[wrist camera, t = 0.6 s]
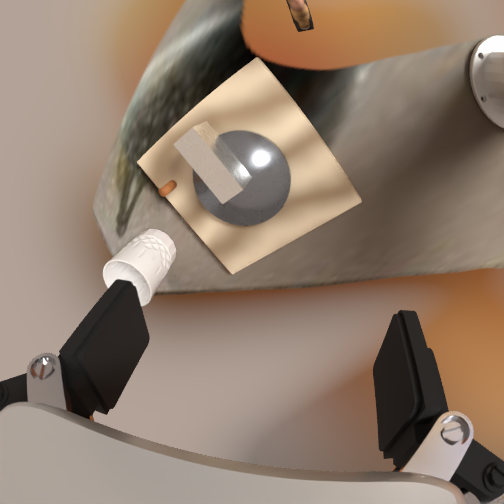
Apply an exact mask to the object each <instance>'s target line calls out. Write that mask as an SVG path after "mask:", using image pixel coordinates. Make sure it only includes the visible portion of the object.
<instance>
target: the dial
mask: <svg viewBox="0 0 504 504" xmlns="http://www.w3.org/2000/svg"><path fill="white" fill-rule="evenodd" d="M173 145H174V146H175V147H176V148H177V150H178V151H179V152H180V153H181V155H182V156H183V157H184V158H185V159H186V161H187V162H188V163H189V164H190V165H191V167H192V168H193V184H194V188H195V191H196V194H197V196H198V198H199V200H200V201H201V203H202V204H203V205H204V207H205V208H206V209H207V210H208V211H209V212H210V213H211V214H213V215H214V216H216V217H217V218H219V219H221V220H222V221H225V222H227V223H230V224H234V225H240V226H250V225H256V224H260V223H263V222H265V221H267V220H269V219H271V218H272V217H274V216H275V215H276V214H277V213H278V212H279V211H280V210H281V209H282V207H283V206H284V204H285V202H286V200H287V198H288V195H289V192H290V188H291V172H290V167H289V164H288V161H287V159H286V157H285V155H284V154H283V152H282V151H281V150H280V148H279V147H278V146H277V145H276V144H275V143H274V142H272V141H271V140H270V139H268V138H267V137H265V136H263V135H261V134H259V133H256V132H252V131H248V130H233V131H228V132H225V133H222V134H220V135H218V134H217V133H216V131H215V130H214V129H213V128H212V126H211V125H210V124H209V123H208V122H207V121H206V122H204V123H201V124H199V125H196V126H194V127H192V128H191V129H190V130H189V131H188V132H187V133H185V134H184V135H183V136H182V137H181V138H180V139H179V140H178V141H177V142H175V143H174V144H173Z"/></svg>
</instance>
